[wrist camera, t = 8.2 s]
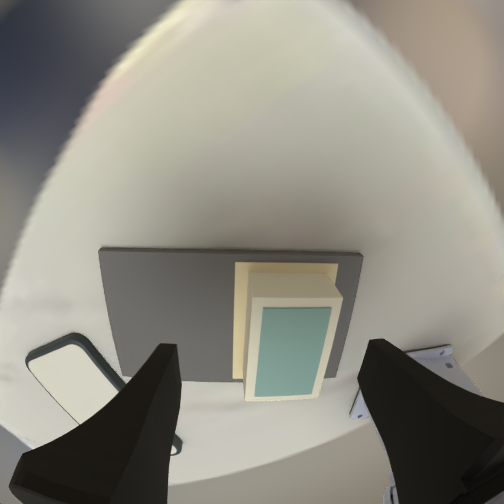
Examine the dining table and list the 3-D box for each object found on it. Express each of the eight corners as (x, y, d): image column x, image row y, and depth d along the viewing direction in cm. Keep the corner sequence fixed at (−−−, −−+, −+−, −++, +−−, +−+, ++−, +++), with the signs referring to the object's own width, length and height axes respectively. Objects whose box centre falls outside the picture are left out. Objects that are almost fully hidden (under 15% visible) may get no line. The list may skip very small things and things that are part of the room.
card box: (308, 368, 22) (318, 399, 19) (242, 370, 22) (244, 402, 18) (326, 273, 19) (343, 298, 16) (248, 272, 19) (252, 298, 16)
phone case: (26, 350, 22) (124, 453, 27) (19, 360, 20) (121, 463, 25) (85, 323, 21) (188, 442, 26) (77, 334, 19) (187, 454, 25)
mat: (360, 253, 20) (364, 256, 19) (333, 372, 23) (335, 378, 23) (101, 247, 18) (97, 251, 18) (124, 371, 22) (122, 376, 21)
